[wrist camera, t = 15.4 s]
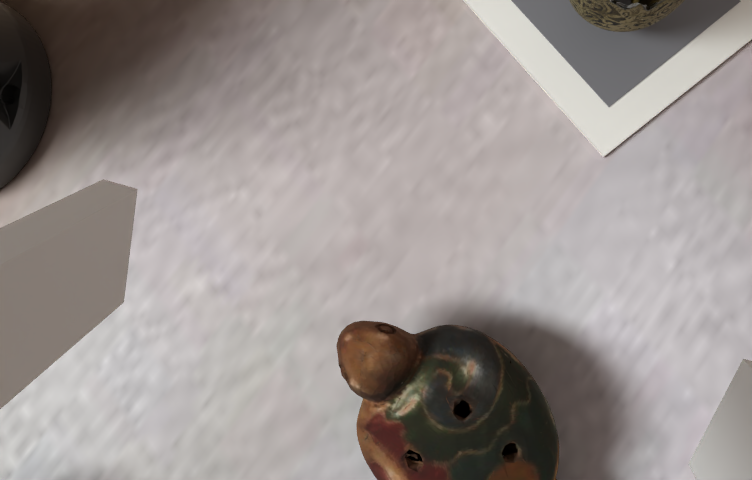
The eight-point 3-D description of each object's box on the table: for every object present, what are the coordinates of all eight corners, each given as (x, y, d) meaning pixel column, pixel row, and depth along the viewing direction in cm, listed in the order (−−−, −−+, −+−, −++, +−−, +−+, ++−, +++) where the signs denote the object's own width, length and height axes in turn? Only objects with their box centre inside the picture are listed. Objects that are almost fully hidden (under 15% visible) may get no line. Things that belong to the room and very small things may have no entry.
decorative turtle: (404, 266, 39) (392, 259, 31) (614, 432, 37) (658, 470, 29) (304, 393, 39) (266, 419, 31) (508, 566, 37) (523, 641, 29)
